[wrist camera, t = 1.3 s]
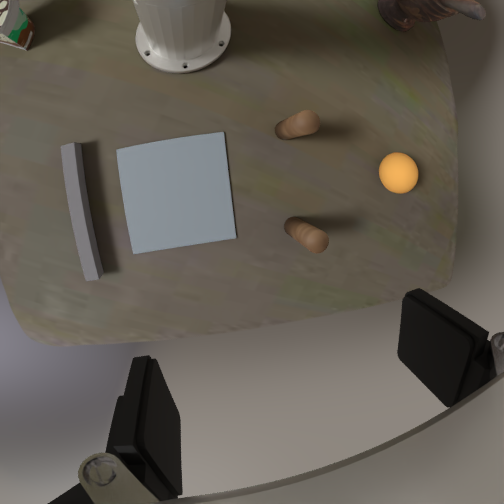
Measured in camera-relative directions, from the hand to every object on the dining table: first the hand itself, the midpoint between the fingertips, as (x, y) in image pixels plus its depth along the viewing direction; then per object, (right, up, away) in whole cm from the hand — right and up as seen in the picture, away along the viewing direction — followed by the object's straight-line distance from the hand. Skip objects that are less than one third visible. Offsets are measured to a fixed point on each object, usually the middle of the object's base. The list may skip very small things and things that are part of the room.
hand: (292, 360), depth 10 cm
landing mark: (-11, +11, +27) cm, 32 cm away
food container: (-37, +38, +15) cm, 55 cm away
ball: (+20, +15, +29) cm, 38 cm away
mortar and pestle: (+23, +43, +25) cm, 55 cm away
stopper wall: (-24, +9, +25) cm, 36 cm away
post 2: (+4, +7, +31) cm, 33 cm away
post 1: (+3, +20, +28) cm, 34 cm away
